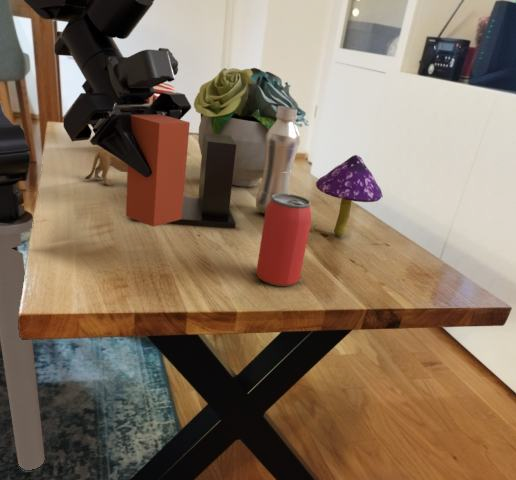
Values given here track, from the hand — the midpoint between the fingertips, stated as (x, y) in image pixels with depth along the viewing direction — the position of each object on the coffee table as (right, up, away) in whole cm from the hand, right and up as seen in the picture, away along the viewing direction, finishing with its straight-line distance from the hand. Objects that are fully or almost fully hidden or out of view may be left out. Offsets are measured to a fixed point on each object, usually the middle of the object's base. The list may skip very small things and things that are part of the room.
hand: (165, 172), depth 67 cm
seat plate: (-2, +2, +29) cm, 29 cm away
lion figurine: (-16, +11, +40) cm, 44 cm away
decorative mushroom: (+28, -2, +31) cm, 41 cm away
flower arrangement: (+8, +16, +54) cm, 57 cm away
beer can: (+15, -13, +9) cm, 22 cm away
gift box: (-19, +27, +66) cm, 74 cm away
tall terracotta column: (-2, -5, +4) cm, 7 cm away
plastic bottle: (+15, +4, +36) cm, 39 cm away
